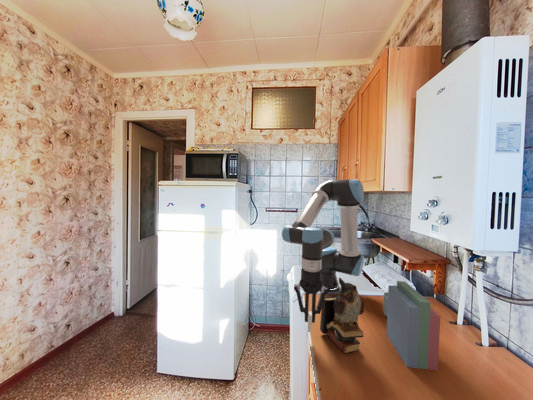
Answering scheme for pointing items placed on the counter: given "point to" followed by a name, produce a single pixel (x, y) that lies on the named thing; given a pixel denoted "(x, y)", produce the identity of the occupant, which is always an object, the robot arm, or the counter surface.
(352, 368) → the counter surface
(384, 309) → the cup
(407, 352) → the book row
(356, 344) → the bookend
